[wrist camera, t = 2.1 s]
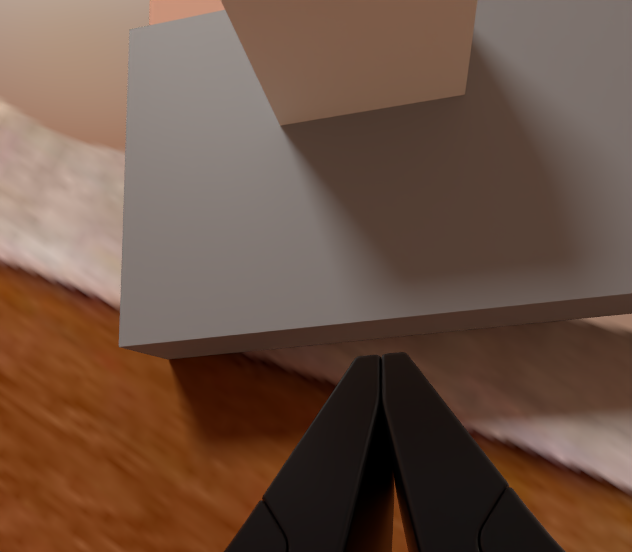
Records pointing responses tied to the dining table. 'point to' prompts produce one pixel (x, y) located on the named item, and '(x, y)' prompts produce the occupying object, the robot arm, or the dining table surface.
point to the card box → (354, 52)
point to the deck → (378, 191)
